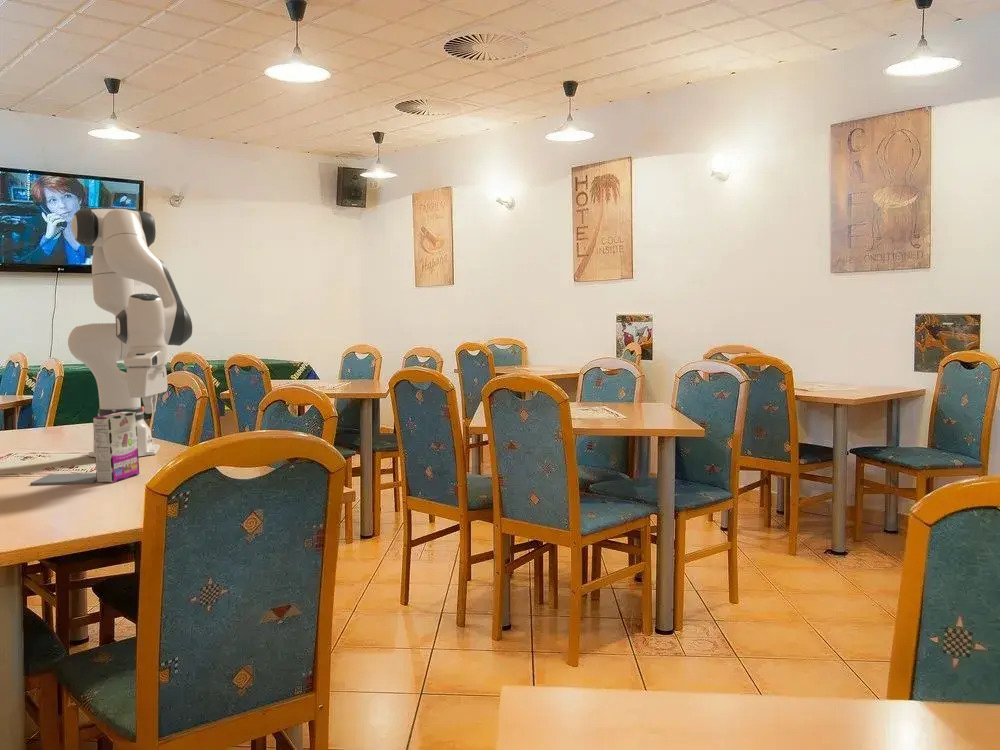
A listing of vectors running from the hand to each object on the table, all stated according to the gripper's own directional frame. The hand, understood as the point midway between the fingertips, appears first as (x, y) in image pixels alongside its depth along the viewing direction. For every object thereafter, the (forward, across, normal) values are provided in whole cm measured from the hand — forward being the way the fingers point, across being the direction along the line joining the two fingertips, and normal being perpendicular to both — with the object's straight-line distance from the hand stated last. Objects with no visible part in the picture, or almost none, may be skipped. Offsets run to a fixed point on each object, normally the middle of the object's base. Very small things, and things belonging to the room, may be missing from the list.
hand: (150, 413), depth 207 cm
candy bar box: (+17, -1, -9) cm, 19 cm away
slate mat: (+16, 0, -20) cm, 26 cm away
